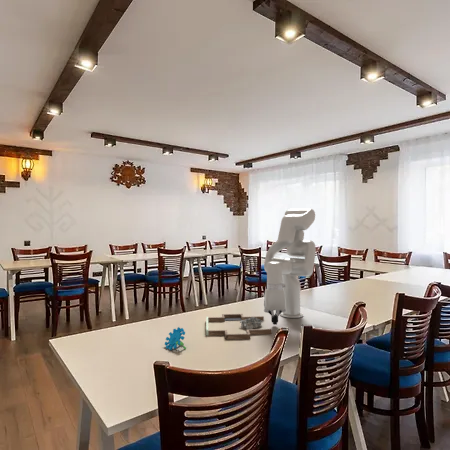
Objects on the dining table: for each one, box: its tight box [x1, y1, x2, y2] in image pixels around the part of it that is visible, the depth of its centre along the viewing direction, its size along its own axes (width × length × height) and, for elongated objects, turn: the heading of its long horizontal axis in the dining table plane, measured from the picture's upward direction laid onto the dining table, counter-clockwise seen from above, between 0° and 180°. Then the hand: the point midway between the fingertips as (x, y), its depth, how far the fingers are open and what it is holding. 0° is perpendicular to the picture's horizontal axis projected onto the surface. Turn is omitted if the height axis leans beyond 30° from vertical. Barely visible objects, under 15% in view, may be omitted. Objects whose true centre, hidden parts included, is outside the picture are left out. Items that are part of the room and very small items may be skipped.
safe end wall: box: [205, 316, 209, 337], centre depth 165 cm, size 22×1×2 cm, turn 3°
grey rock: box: [239, 316, 264, 330], centre depth 167 cm, size 11×8×4 cm
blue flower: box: [164, 326, 187, 351], centre depth 140 cm, size 11×6×10 cm
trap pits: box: [224, 318, 241, 322], centre depth 165 cm, size 31×9×1 cm, turn 3°
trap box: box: [207, 313, 272, 340], centre depth 165 cm, size 33×29×2 cm
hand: (274, 323), depth 166 cm, fingers closed
